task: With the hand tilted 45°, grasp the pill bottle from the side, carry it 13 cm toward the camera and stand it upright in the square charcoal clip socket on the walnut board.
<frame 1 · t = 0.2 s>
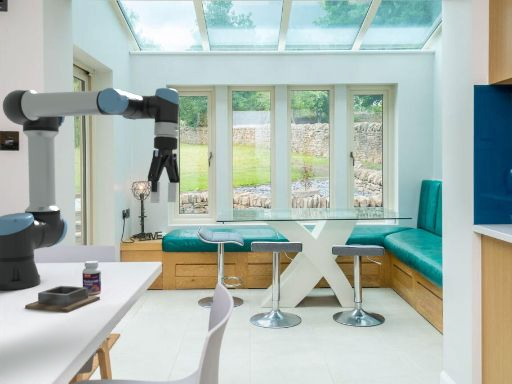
hand: (163, 202, 162), 27 cm above the table, tool pointing down, fingers open, 13 cm apart
clip stand: (63, 303, 141), on the table
pill bottle: (92, 293, 153), on the table
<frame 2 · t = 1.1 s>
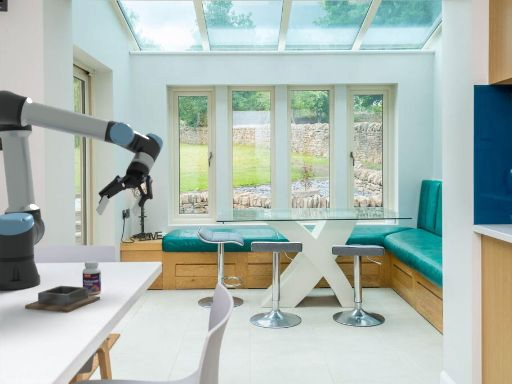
hand: (116, 213, 165), 24 cm above the table, tool tilted 45°, fingers open, 13 cm apart
nothing on the table moved.
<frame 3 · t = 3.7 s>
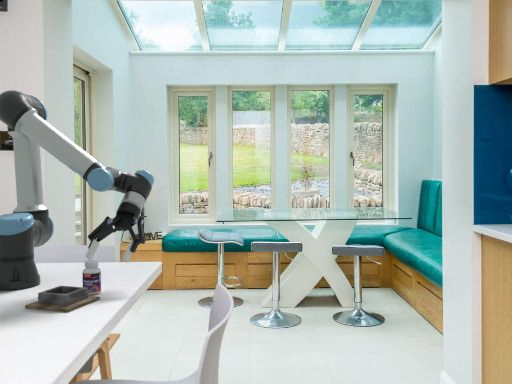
hand: (106, 259, 158), 10 cm above the table, tool tilted 45°, fingers open, 13 cm apart
nothing on the table moved.
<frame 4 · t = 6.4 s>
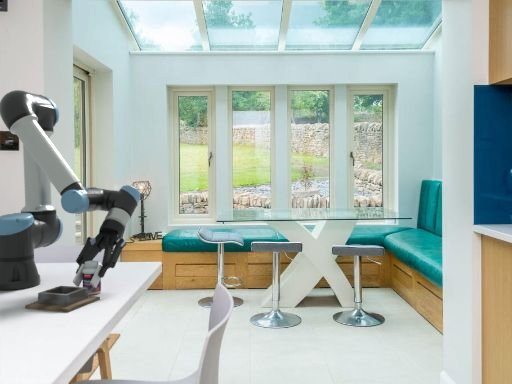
hand: (84, 284, 150), 3 cm above the table, tool tilted 45°, fingers closed on pill bottle, 5 cm apart
pill bottle: (92, 293, 153), on the table, touching gripper
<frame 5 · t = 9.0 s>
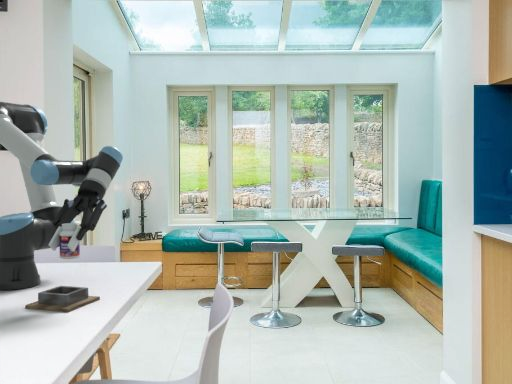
hand: (61, 248, 138), 16 cm above the table, tool tilted 45°, fingers closed on pill bottle, 5 cm apart
pill bottle: (69, 258, 142), point 13 cm above the table, touching gripper
when the fingers open (6 cm above the table, at t = 12.0 s): pill bottle drops 2 cm, resting on clip stand.
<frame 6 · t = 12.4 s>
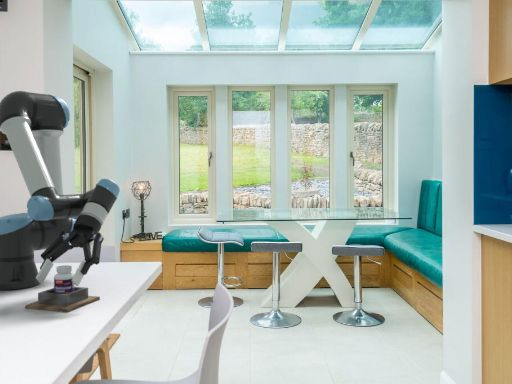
hand: (56, 282, 138), 7 cm above the table, tool tilted 45°, fingers open, 11 cm apart
pill bottle: (64, 301, 141), point 1 cm above the table, touching clip stand
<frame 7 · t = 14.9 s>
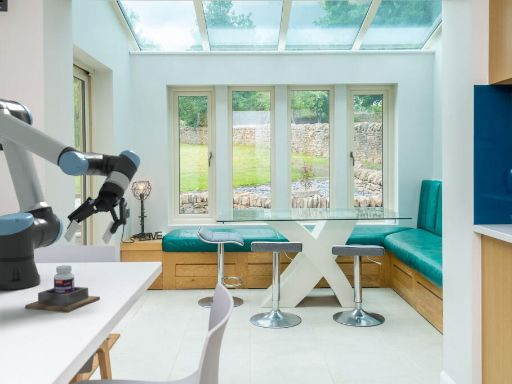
hand: (85, 240, 150), 17 cm above the table, tool tilted 45°, fingers open, 13 cm apart
nothing on the table moved.
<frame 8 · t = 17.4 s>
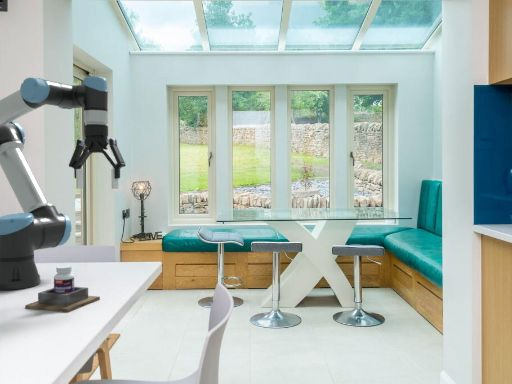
hand: (97, 188, 165), 32 cm above the table, tool pointing down, fingers open, 13 cm apart
nothing on the table moved.
at the end: pill bottle 0.2 cm off-centre on the clip stand, point 0.6 cm above the clip stand's base; pill bottle tilted 0°; the gripper is holding nothing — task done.
